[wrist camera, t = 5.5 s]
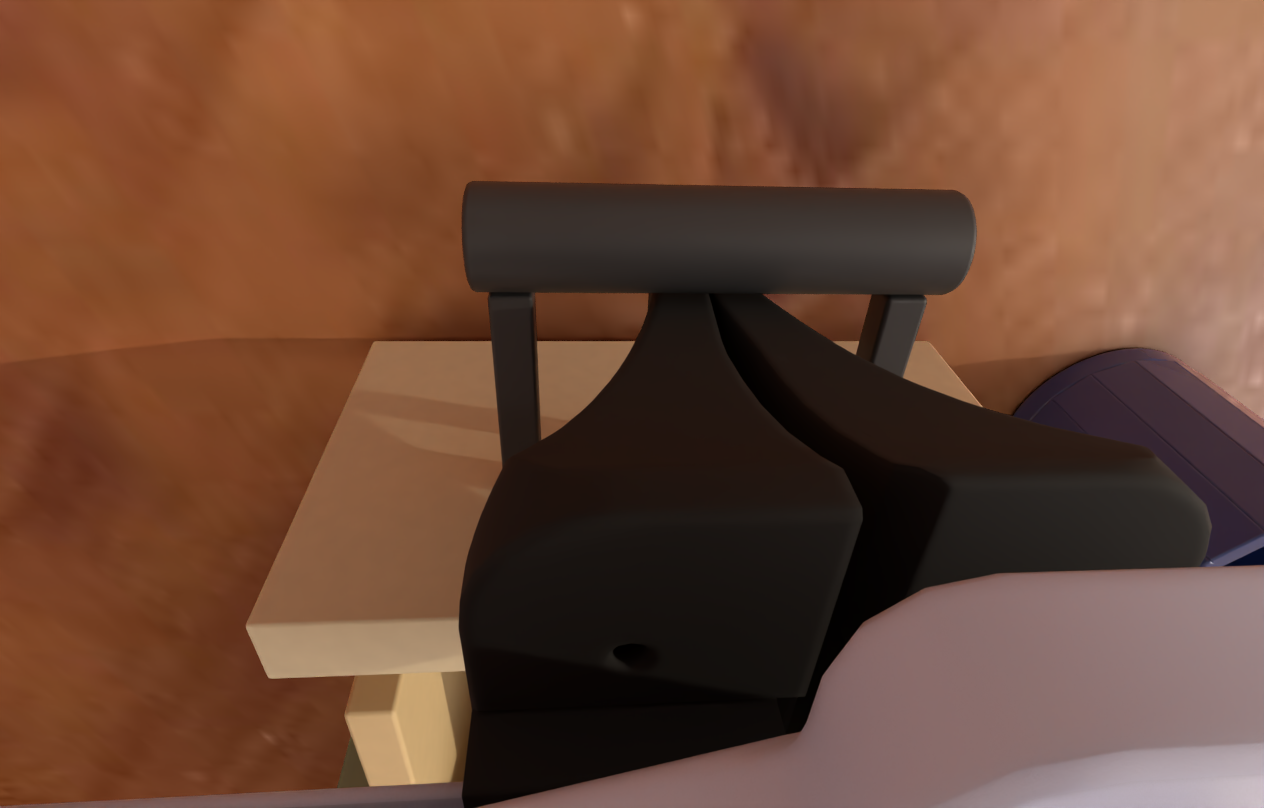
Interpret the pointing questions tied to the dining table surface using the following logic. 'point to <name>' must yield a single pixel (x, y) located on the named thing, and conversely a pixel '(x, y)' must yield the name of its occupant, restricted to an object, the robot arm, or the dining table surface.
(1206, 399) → the cup
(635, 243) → the drawer
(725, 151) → the dining table surface
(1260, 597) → the robot arm
